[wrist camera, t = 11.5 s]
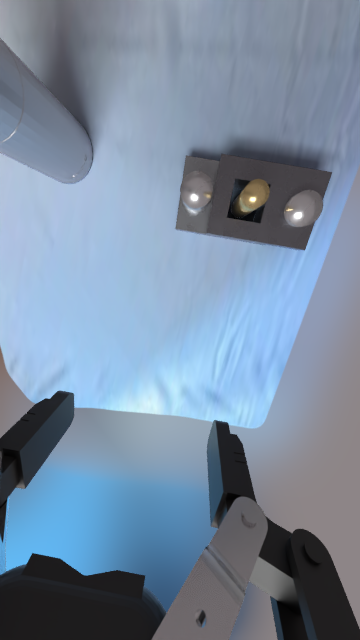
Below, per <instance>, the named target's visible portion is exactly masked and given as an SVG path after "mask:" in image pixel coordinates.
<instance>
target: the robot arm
mask: <svg viewBox="0 0 360 640" xmlns="http://www.w3.org/2000/svg"><path fill="white" fill-rule="evenodd" d="M0 153H1V154H3V155H5V156H8V157H10V158H12V159H14V160H16V161H18V162H20V163H22V164H24V165H26V166H28V167H30V168H32V169H34V170H36V171H38V172H40V173H42V174H44V175H46V176H48V177H51V178H53V179H55V180H57V181H59V182H62V183H66V184H73V183H76V182H79V181H80V180H82V179H83V178H84V177H85V176H86V175H87V173H88V171H89V170H90V167H91V163H92V156H93V154H92V146H91V142H90V139H89V136H88V134H87V132H86V131H85V129H84V128H83V126H82V125H81V124H80V123H79V122H78V121H77V120H76V119H75V118H74V117H73V116H72V114H71V113H70V112H69V111H68V110H67V109H66V108H65V107H64V106H63V105H62V104H61V102H60V101H59V100H58V99H57V98H56V97H55V96H54V95H53V94H52V93H51V92H50V91H49V90H48V89H47V87H46V86H45V85H44V84H43V83H42V82H41V81H40V80H39V79H38V78H37V77H36V76H35V75H34V73H33V72H32V71H31V70H30V69H29V68H28V67H27V66H26V65H25V64H24V63H23V62H22V61H21V60H20V58H19V57H18V56H17V55H16V54H15V53H14V52H13V51H12V50H11V49H10V48H9V47H8V46H7V45H6V43H5V42H4V41H3V40H2V39H1V38H0ZM73 418H74V394H73V393H70V392H65V391H57V392H56V393H55V394H54V395H53V396H52V397H51V398H50V399H44V400H42V401H40V402H39V403H37V404H35V405H34V406H33V407H32V408H31V409H30V410H29V411H28V412H27V414H25V415H24V416H23V417H22V418H21V419H20V421H18V422H17V423H16V424H15V425H14V426H13V427H12V428H10V430H8V431H7V432H6V433H5V434H4V435H3V436H2V437H1V438H0V640H229V638H230V635H231V632H232V629H233V627H234V624H235V621H236V619H237V616H238V613H239V611H240V608H241V605H242V602H243V599H244V596H245V590H246V587H247V584H248V582H249V581H250V582H251V583H253V584H254V585H255V586H257V587H258V588H260V589H261V590H263V591H264V592H266V593H267V594H268V595H270V598H271V604H272V610H273V615H274V621H275V627H276V632H277V638H278V640H360V629H359V626H358V624H357V621H356V619H355V616H354V614H353V611H352V609H351V606H350V604H349V601H348V599H347V596H346V593H345V591H344V588H343V586H342V583H341V581H340V579H339V576H338V573H337V571H336V568H335V566H334V563H333V561H332V558H331V556H330V554H329V552H328V550H327V549H326V547H325V546H324V545H323V543H322V542H321V541H320V540H319V539H318V538H317V537H316V536H315V535H313V534H312V533H311V532H309V531H307V530H304V529H296V530H295V531H294V532H293V533H290V532H289V531H287V530H285V529H284V528H282V527H280V526H278V525H277V524H275V523H273V522H272V521H271V520H269V519H268V518H267V517H266V516H265V514H264V512H263V511H262V509H261V507H260V506H259V505H258V504H257V502H256V499H255V495H254V491H253V487H252V482H251V478H250V474H249V470H248V466H247V461H246V457H245V453H244V448H243V444H242V443H241V441H240V439H239V438H238V436H237V435H235V434H230V430H229V425H228V423H227V422H222V421H217V420H214V421H213V425H212V428H211V432H210V436H209V439H208V444H207V462H208V480H209V500H210V518H211V527H215V528H218V530H217V532H216V533H215V535H214V537H213V538H212V540H211V542H210V544H209V545H208V546H207V547H206V548H205V549H204V551H203V552H202V554H201V556H200V557H199V559H198V561H197V562H196V564H195V566H194V568H193V570H192V571H191V573H190V575H189V576H188V578H187V580H186V581H185V583H184V585H183V586H182V588H181V590H180V591H179V593H178V595H177V597H176V598H175V600H174V602H173V604H172V605H171V607H170V609H169V610H168V612H167V613H166V611H165V610H164V608H163V606H162V605H161V603H160V601H159V600H158V599H157V598H156V596H155V595H154V594H153V593H152V592H151V591H149V590H148V589H147V588H146V587H144V580H145V576H144V575H139V574H134V573H129V572H123V571H118V570H116V571H110V572H105V573H99V574H94V575H88V576H84V575H82V574H81V573H79V572H78V571H77V570H75V569H74V568H72V567H71V566H69V565H68V564H66V563H65V562H64V561H63V560H61V559H58V558H53V557H49V556H44V555H39V554H34V553H33V554H32V555H31V557H30V559H29V561H28V563H27V564H26V565H22V566H18V567H16V568H13V569H11V570H9V571H6V558H5V544H6V533H7V521H8V509H9V495H10V494H11V493H12V491H13V490H14V489H15V488H16V487H17V488H22V489H25V488H26V487H27V485H28V484H29V483H30V481H31V480H32V478H33V477H34V476H35V474H36V473H37V471H38V470H39V469H40V467H41V466H42V464H43V463H44V462H45V460H46V459H47V457H48V456H49V455H50V453H51V452H52V450H53V449H54V448H55V446H56V445H57V443H58V442H59V440H60V439H61V438H62V436H63V435H64V433H65V432H66V431H67V429H68V428H69V426H70V425H71V423H72V420H73Z"/></svg>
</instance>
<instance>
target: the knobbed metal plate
mask: <svg viewBox="0 0 360 640" xmlns="http://www.w3.org/2000/svg"><path fill="white" fill-rule="evenodd" d="M331 174H332V172H327V171H321V170H315V169H309V168H303V167H297V166H291V165H285V164H279V163H273V162H267V161H261V160H255V159H249V158H243V157H237V156H231V155H225V154H221V158H220V161H216V160H210V159H204V158H198V157H192V156H186V160H185V167H184V174H183V181H182V184H181V189H180V192H181V194H180V201H179V208H178V215H177V222H176V230H180V231H185V232H191V233H197V234H203V235H208V236H214V237H220V238H226V239H231V240H237V241H243V242H249V243H254V244H260V245H272V246H278V247H284V248H289V249H295V250H305V249H306V246H307V243H308V240H309V237H310V234H311V231H312V229H313V226H314V223H315V221H316V220H317V219H318V217H319V216H320V214H321V212H322V208H323V201H322V200H323V197H324V194H325V191H326V189H327V186H328V183H329V180H330V177H331ZM255 179H262V180H264V181H266V182H267V184H268V186H269V189H270V193H269V197H268V199H267V201H266V202H265V203H264V204H263V205H262V206H260V207H258V208H257V209H256V212H255V216H254V220H253V222H249V221H243V220H237V219H231V218H227V214H228V210H229V205H230V200H231V196H232V191H233V189H238V190H244V188H245V187H246V186H247V185H248V184H249V183H250V182H251V181H252V180H255Z"/></svg>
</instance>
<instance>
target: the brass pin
mask: <svg viewBox="0 0 360 640" xmlns="http://www.w3.org/2000/svg"><path fill="white" fill-rule="evenodd" d="M269 193H270V189H269V186H268V184H267V182H266V181H264V180H262V179H255V180H252V181H251V182H250V183H249V184H248V185H247V186H246V187H245V188H244V190H243V191H242V192H241V193H240V194H239V196H238V197H237V198H236V199H235V201H234V202H233V203H232V205H231V213H232V215H233V216H234V217H236V218H243V217H244V216H246V215H247V214H249V213H251V212H252V211H254V210H255V209H257V208H258V207H260V206H262V205H263V204H264V203H265V202H266V201H267V199H268V197H269Z"/></svg>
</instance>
